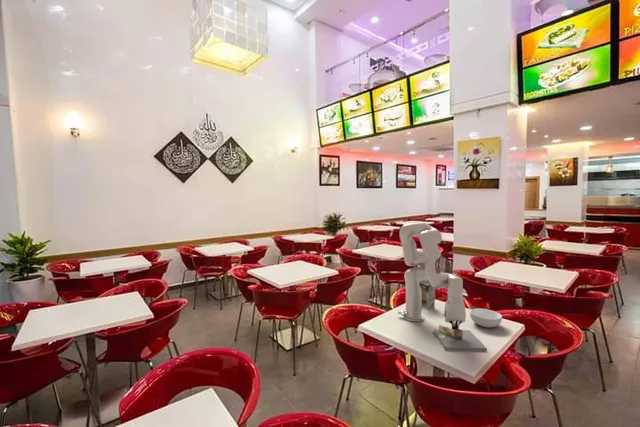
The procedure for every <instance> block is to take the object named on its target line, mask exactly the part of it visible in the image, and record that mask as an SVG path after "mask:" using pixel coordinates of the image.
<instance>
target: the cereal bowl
mask: <svg viewBox="0 0 640 427" xmlns="http://www.w3.org/2000/svg"><path fill="white" fill-rule="evenodd" d="M469 316H470V319H471V320H472V322H474V323H475V324H477V325H478V326H479V327H483V328H488V329H489V328H494V327H495V328H496V327H498V326H500V325H501V323H502V322H503V316H502V314H500V313H499V312H498V311H497V312H496V311H495V310H491V309H487V308H479V307H478V308H477V307H476V308H472V309H470V311H469Z"/></svg>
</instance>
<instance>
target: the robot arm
mask: <svg viewBox="0 0 640 427" xmlns="http://www.w3.org/2000/svg"><path fill="white" fill-rule="evenodd" d="M413 237H418V240H419V242H420V245H421V248H422V249H417V243H416V241H415V239H413ZM399 240H400V243H401V246H402V253H403V259H404V263H405V265H406V266H409V267H413V268H409V269H406V271H405V272H404V274H403V275H404V281H405V308H404V310H398V311H397V313H398V315H401V316H402V317H403V319H405V320H406V321H410V322H423V321H424V320H425V316H424V315H423V314H422V309H423V307H422V290H421V287H420V285H419V283H421V282H428V283H430V285H431V286H432V287H433V288H435V289H443V288H447V300H445V305H444V310H443V316H444V317H443V318H445V319H444V322H446V323H448V324H450V325H451V329H453V330H454V329H460V328H459V327H460V325H461V324H462V323H465V322H466V319H467V317H466V306H465V302H464V300H466V297H465V296H464V292H463V290H464V288H463V286H464V285H463V284H464V281H463V278H462V277H460V276H458V275H453V274H451V273H449V272H443V273H437V270H436V263H437V262H436V261H437V260H438V259H439V258H441V256H442V252H441V249H440V248H439V246H438V244H440V243H441V241H442V240H443V235H442V233H441V232H440V231H439V230H438V229H437V228H435V227H433V226H432V225H429V224H428V223H426V222H411V223H406V224H403V225H402V226H401V227H400V229H399ZM415 266H417V267H415Z"/></svg>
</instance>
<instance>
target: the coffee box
mask: <svg viewBox="0 0 640 427" xmlns="http://www.w3.org/2000/svg"><path fill="white" fill-rule="evenodd" d="M419 285H420V287H421V290H422V306H423V307H422V308H424V307H425V309H426V308H427V309H426V310H431V309H430V308H432V309H435V307H436V306H435V305H436V304H435V302H436V301H435V300H436V288H433V287H432V286H431V285H430V283H429V281H426V282H421V283H419Z"/></svg>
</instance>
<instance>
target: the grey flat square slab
mask: <svg viewBox="0 0 640 427" xmlns="http://www.w3.org/2000/svg"><path fill="white" fill-rule="evenodd" d="M461 330H462V339H460V340H459V339H455V338H454V336H451V335H449V334H446V333H443V332H441V331H439V329H432V332H433V334H434V336H435V337H436V340H438V341H439V343H440V344H441V346H442V348H443V349H444V350H445V351H463V352H464V351H465V352H467V351H469V352H487V351H488V350H487V349H488V348H487V347H486V345H484V344H483V343H482V342H481V341H480V339H478V337H477V336H475V335H474V333H473V332H471V330H470V329H461Z"/></svg>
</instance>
